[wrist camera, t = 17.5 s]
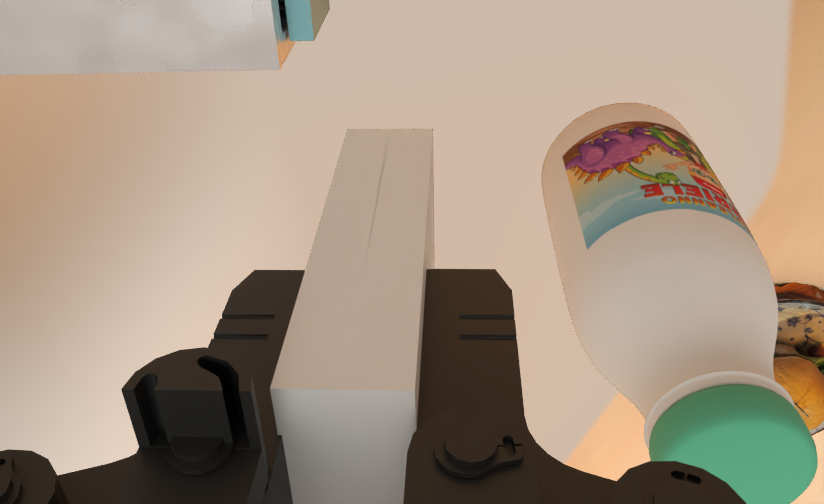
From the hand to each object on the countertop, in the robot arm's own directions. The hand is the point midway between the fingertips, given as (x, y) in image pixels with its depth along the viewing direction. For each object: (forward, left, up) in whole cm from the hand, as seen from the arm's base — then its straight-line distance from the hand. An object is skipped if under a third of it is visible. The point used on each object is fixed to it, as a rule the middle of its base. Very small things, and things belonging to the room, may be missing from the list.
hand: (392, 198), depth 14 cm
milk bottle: (-9, +11, -24) cm, 28 cm away
